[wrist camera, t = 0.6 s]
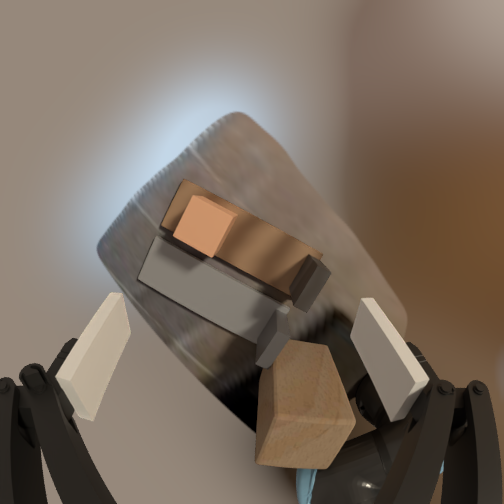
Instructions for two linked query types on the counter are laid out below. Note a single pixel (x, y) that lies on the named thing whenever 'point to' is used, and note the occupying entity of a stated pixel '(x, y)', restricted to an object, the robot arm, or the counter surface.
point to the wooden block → (302, 409)
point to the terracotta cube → (205, 225)
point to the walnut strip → (261, 249)
